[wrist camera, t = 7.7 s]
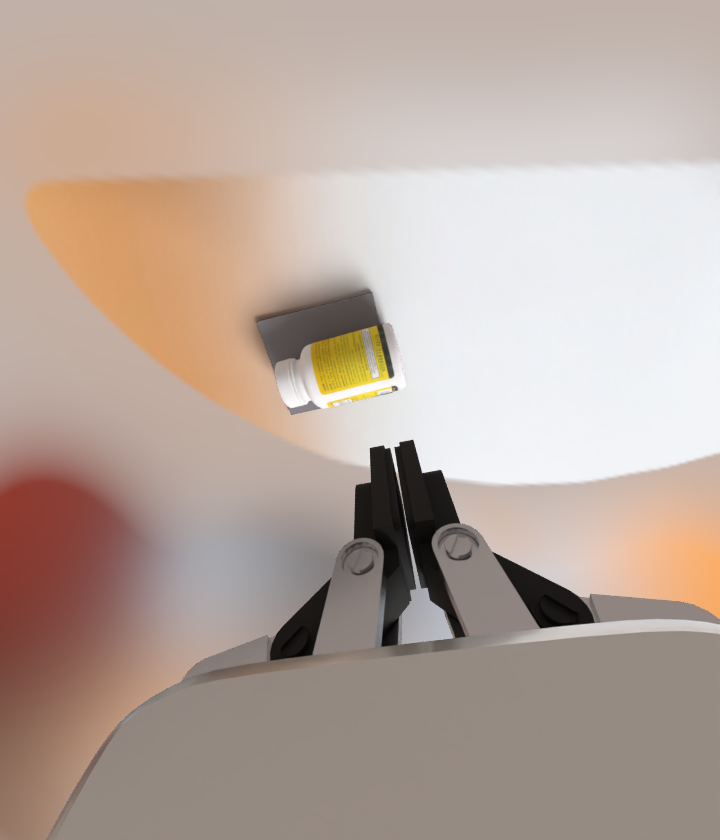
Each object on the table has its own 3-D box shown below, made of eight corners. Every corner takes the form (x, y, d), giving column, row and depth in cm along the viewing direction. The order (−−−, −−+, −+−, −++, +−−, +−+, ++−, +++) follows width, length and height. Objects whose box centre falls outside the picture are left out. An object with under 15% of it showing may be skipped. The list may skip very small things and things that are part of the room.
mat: (372, 292, 26) (372, 293, 26) (391, 390, 30) (392, 392, 30) (257, 321, 27) (256, 322, 27) (291, 412, 31) (291, 414, 31)
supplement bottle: (387, 307, 25) (270, 339, 26) (402, 354, 22) (269, 390, 23) (396, 355, 29) (296, 382, 30) (409, 401, 26) (297, 429, 27)
